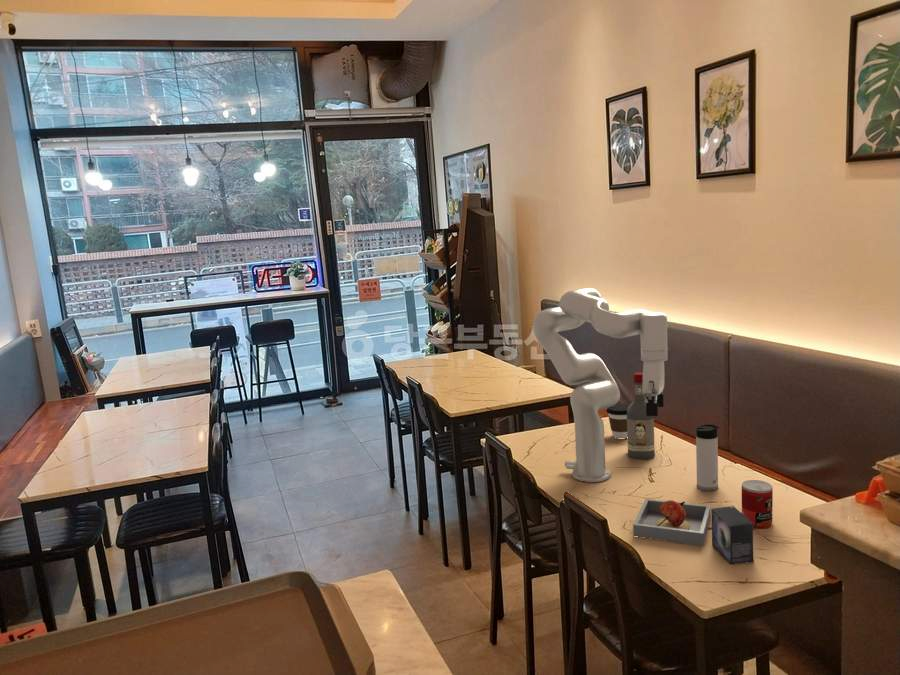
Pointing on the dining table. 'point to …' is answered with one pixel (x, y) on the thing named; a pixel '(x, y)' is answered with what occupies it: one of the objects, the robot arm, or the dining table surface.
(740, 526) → the small box
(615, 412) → the coffee cup
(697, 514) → the walled pen
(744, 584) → the dining table surface
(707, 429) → the travel mug
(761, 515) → the canned food
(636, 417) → the liquor
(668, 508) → the pomegranate
